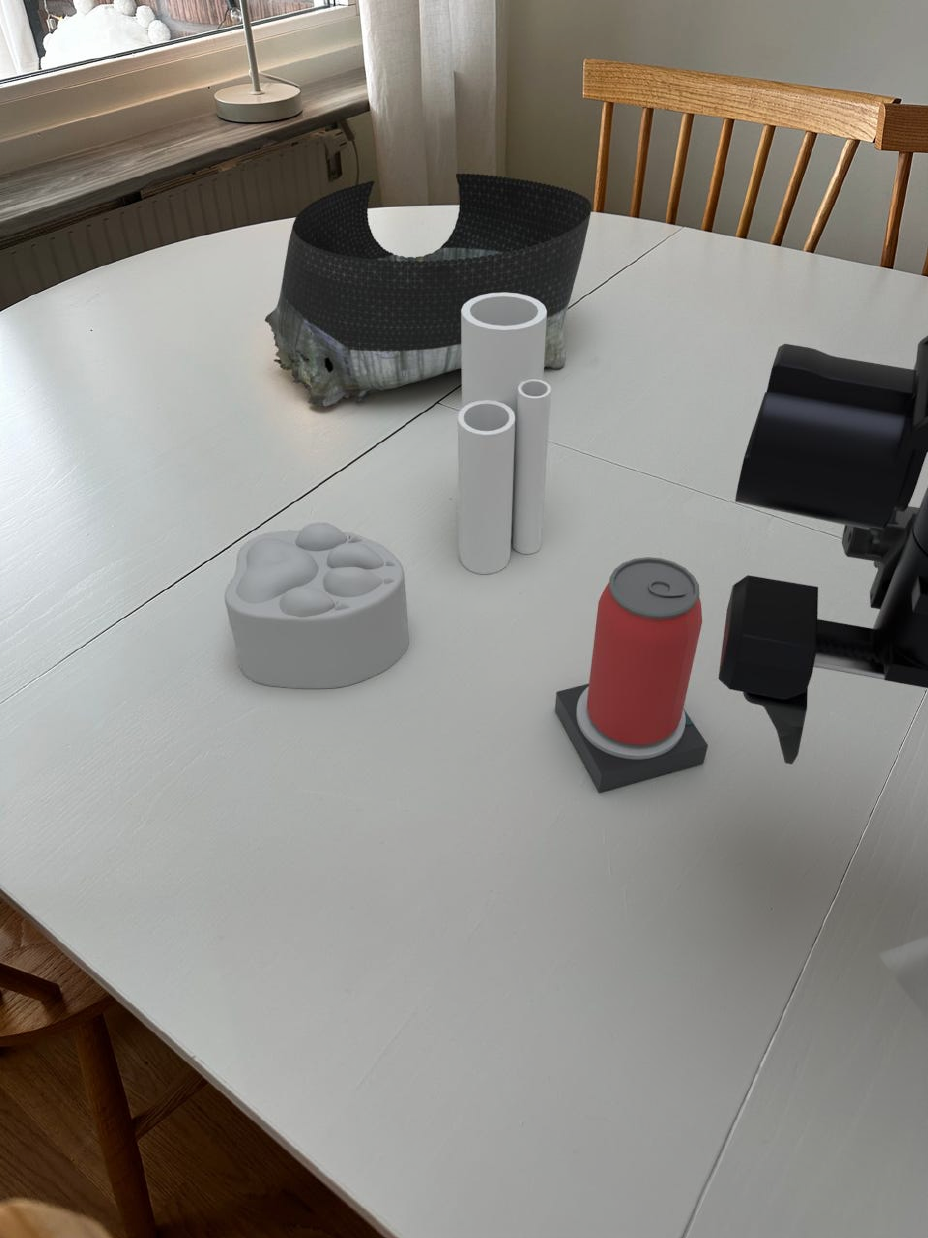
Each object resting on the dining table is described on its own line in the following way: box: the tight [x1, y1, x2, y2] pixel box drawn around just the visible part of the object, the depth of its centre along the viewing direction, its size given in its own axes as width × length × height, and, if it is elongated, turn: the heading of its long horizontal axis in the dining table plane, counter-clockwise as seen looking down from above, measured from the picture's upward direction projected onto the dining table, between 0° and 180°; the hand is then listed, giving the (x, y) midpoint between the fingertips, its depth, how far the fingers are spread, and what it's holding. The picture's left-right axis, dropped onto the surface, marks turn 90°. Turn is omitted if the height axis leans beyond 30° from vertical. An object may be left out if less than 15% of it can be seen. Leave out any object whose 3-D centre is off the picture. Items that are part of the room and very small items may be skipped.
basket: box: [264, 173, 593, 408], centre depth 107 cm, size 28×35×16 cm
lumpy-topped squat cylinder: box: [224, 521, 410, 690], centre depth 75 cm, size 10×13×9 cm
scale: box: [554, 683, 709, 794], centre depth 70 cm, size 8×8×2 cm
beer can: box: [587, 556, 703, 745], centre depth 65 cm, size 7×7×12 cm
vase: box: [457, 293, 552, 575], centre depth 81 cm, size 11×7×20 cm, turn 178°
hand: (878, 775), depth 51 cm, fingers open, 9 cm apart
